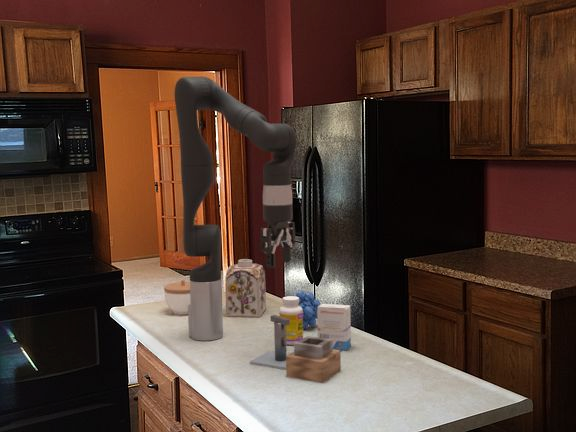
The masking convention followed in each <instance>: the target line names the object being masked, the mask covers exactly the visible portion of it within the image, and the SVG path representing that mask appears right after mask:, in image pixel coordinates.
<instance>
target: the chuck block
mask: <svg viewBox="0 0 576 432" xmlns="http://www.w3.org/2000/svg"><path fill="white" fill-rule="evenodd" d="M293 347H294V349H293V350H294V351H292V352H291V353H289V355H288V356H286V370H285V371H286V373H285V374H286V377H289V378H295V379H300V380H305V381H311V382H317V383H325V382H327V381H328V380H329V379H330V378H332V377H333V376H334V375H336V374H337V373H338V372H340V371H341V370H342V369H341V368H342V366H341V363H342V360H341V358H342V357H341V356H342V355H341V353H342V352H341V351H342V350H335V349H333V347H332V339H326V338H319V337H318V336H311V335H306V336H303V339H301V340H299V341H298V342H296V343H294V345H293Z"/></svg>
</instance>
